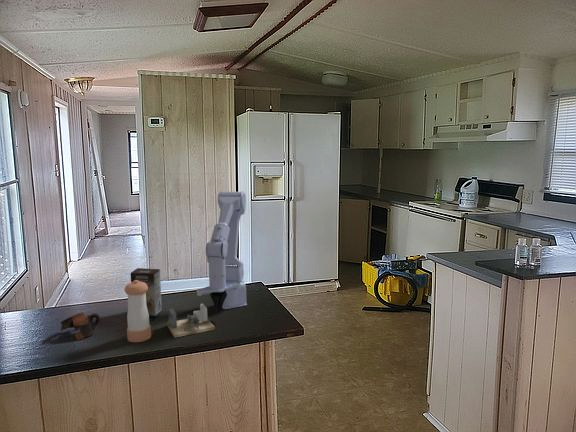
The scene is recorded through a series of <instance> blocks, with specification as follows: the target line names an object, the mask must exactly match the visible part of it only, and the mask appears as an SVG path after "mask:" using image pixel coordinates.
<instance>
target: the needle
mask: <svg viewBox="0 0 576 432" xmlns="http://www.w3.org/2000/svg"><path fill="white" fill-rule="evenodd" d="M193 323H194V324H195V325H196V324H199V322H198V319H197V318H193Z"/></svg>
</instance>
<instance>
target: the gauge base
mask: <svg viewBox="0 0 576 432" xmlns="http://www.w3.org/2000/svg"><path fill="white" fill-rule="evenodd" d="M166 324H167V325H166V326H167V327H168V330H169V331H170V333H171V335H172V336H173V337H174V339H175V338H181V337H183V336H190V335H195V334H200V333H206V332H210V331H215V330H216V329H215V328H216V327H215V325H214V324H213V323H212V321H210V320H209V318H208V317H207V321H205V322H202V323H199V324H196V325H195V324H194V323H193V320H191V321H190V322H188V319H187V318H186V319H185V318H184V319H180V320H177V328H174V329H172V327H171V326H170V324H169V321H168V322H166Z"/></svg>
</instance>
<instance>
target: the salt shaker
mask: <svg viewBox="0 0 576 432" xmlns="http://www.w3.org/2000/svg"><path fill="white" fill-rule="evenodd" d="M147 290H148V286H147V284H146V283H144V282H141V281H138V280H134V281H133V282H131V281H130V282H129V283H127V284H126V285H125V287H124V292H125V294H126V295H127V304H128V305H127V317H126V319H127V320H126V321H127V328H126V338H127V341H128V342H131V343H142V342H145V341H148V340H149V339H150V338H151V337H152V331H151V330H152V329H151V328H152V327H151V324H150V316H149V314H148V309H147V305H146V292H147Z"/></svg>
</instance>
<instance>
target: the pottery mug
mask: <svg viewBox="0 0 576 432" xmlns="http://www.w3.org/2000/svg"><path fill="white" fill-rule="evenodd" d="M94 318H95V322H93V319H94ZM101 319H102V318H101V316H100V314H98V313H96V312H95V313H92V314H90V315H89V314H88V315H86V314H85V312H84V311H82V312H79V313H76V314H74V315H71V316H70V317H68V318H67V317H66V318H65V319H64V320H62V321H61V322H60V324H61V328H60V331H61V332H63V331H64V330H67V329H71V328H74V329H75V330H76V331H77V330H79V332H77V333H75V334H74V337H75V339H76V340H77V341H82V340H83V339H85V338H87V337H90V336H92V335H94V330H95V329H96V327H98V326H99V325H100V323H101Z"/></svg>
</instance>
